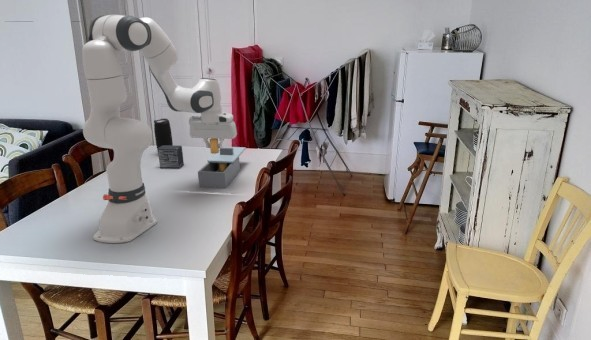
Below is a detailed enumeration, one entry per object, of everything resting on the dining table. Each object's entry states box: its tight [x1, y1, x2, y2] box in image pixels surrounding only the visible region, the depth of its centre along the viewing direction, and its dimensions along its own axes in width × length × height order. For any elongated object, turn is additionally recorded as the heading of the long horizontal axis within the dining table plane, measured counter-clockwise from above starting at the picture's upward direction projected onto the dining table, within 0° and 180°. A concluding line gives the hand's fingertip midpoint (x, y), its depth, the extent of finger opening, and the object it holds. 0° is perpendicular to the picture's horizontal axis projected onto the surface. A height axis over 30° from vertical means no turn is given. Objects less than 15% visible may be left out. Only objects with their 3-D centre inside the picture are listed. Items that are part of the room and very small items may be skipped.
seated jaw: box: [219, 163, 227, 172], centre depth 191 cm, size 4×4×6 cm
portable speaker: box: [153, 118, 174, 152], centre depth 223 cm, size 9×9×20 cm
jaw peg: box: [208, 138, 220, 155], centre depth 178 cm, size 4×4×6 cm
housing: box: [197, 156, 241, 189], centre depth 187 cm, size 22×12×8 cm, turn 171°
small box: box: [157, 145, 185, 170], centre depth 206 cm, size 11×6×10 cm, turn 84°
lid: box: [207, 146, 247, 163], centre depth 196 cm, size 22×12×4 cm, turn 171°
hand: (214, 147), depth 179 cm, fingers closed on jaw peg, 4 cm apart
